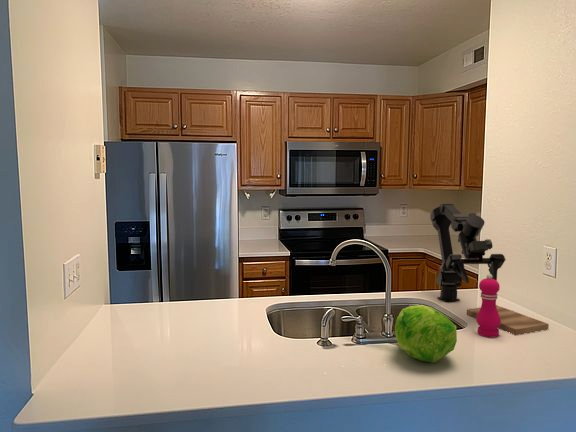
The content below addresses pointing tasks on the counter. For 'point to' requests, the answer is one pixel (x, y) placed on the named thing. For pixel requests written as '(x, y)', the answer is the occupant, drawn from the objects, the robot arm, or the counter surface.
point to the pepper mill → (488, 308)
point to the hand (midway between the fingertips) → (481, 282)
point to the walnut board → (514, 321)
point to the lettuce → (425, 333)
